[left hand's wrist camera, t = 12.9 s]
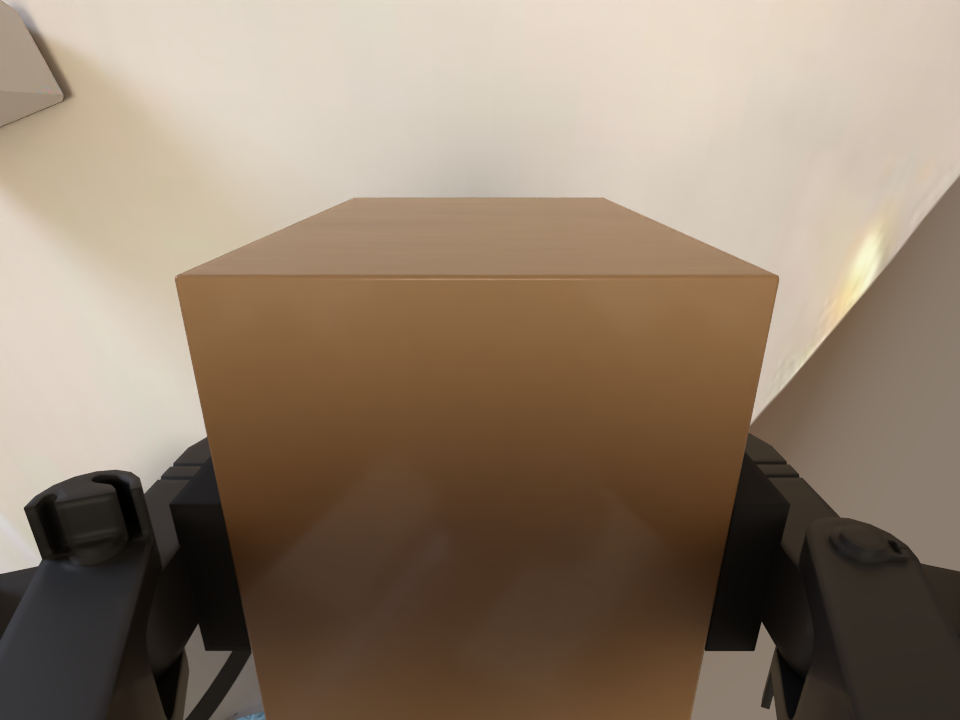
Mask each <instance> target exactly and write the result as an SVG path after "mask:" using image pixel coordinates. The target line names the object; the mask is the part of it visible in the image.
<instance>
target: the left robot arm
mask: <svg viewBox="0 0 960 720" xmlns="http://www.w3.org/2000/svg"><path fill="white" fill-rule="evenodd" d="M24 510H25V513H26V516H27V519H28V521H29V524H30V527H31V530H32V532H33V535H34V538H35V541H36V543H37V546H38V549H39V552H40V554H41V557H42V561H41V563H40V565H39V566H37V567H33V568H28V569H23V570H18V571H13V572H9V573H4V574H0V720H266V719H265V714H264V709H263V705H262V700H261V695H260V690H259V685H258V680H257V675H256V671H255V666H254V661H253V656H252V651H251V646H250V641H249V637H248V632H247V627H246V622H245V617H244V612H243V607H242V603H241V598H240V593H239V588H238V583H237V578H236V573H235V569H234V564H233V559H232V554H231V549H230V544H229V539H228V535H227V530H226V525H225V520H224V515H223V510H222V505H221V501H220V496H219V491H218V486H217V481H216V476H215V471H214V467H213V462H212V457H211V452H210V447H209V442H208V437H206V438H205V439H203V440H201V441H199V442H198V443H196V444H194V445H193V446H191V447H189V448H188V449H187V450H186V451H185V452H184V453H183V454H182V455H181V456H180V457H179V458H178V459H177V460H176V461H175V462H174V463H173V467H170V468H169V469H168V470H167V471H166V472H165V473H164V474H163V475H162V476H161V480H157V481H156V482H155V483H154V484H153V485H152V487H151V488H150V489H149V490H148V491H147V492H146V493H145V494H144V493H143V489H142V485H141V481H140V478H139V477H137V476H136V475H134V474H133V473H132V472H127V471H120V470H108V471H96V472H92V473H88V474H84V475H80V476H76V477H73V478H70V479H68V480H65V481H63V482H60V483H58V484H55V485H53V486H51V487H50V488H48V489H46V490H45V491H43V492H42V493H40V494H38V495H37V496H35V497H34V498H33V499H32V500H31V501H30V502H29V503H28V504H27V505H26V506H25V507H24ZM761 622H762V623H763V624H764V626H765V628H766V630H767V631H768V633H769V635H770V636H771V638H772V640H773V642H774V643H775V645H776V647H775V651H774V655H773V658H772V662H771V666H770V670H769V674H768V677H767V681H766V685H765V689H764V692H763V697H762V704H761V707H764V708H767V709H769V708H770V704H771V701H772V697H773V696H774V699H775V707H776V715H777V720H960V572H959V571H954V570H949V569H944V568H940V567H935V566H930V565H925V564H921V563H920V562H919V560H918V558H917V557H916V556H915V554H914V553H913V552H912V551H911V550H910V548H909V547H908V546H907V545H906V544H904V543H903V542H901V541H900V540H899V539H897V538H896V537H894V536H893V535H892V534H890V533H888V532H886V531H884V530H881V529H879V528H877V527H875V526H873V525H871V524H867V523H864V522H860V521H857V520H853V519H850V518H840V517H839V516H838V515H837V513H836V512H835V511H834V510H833V509H832V508H831V507H830V506H829V505H828V504H827V503H826V502H825V501H824V500H823V499H822V498H821V497H820V496H819V495H818V494H817V493H816V492H815V491H814V490H813V488H812V487H811V486H810V485H809V484H808V483H807V482H806V481H805V480H804V479H803V478H799V474H798V473H797V472H796V471H795V470H794V469H793V468H792V467H791V466H790V465H787V462H786V460H785V459H784V458H783V457H782V456H781V455H780V454H779V453H778V452H777V451H776V450H775V449H774V448H773V447H772V446H771V445H769V444H767V443H766V442H764V441H762V440H760V439H759V438H757V437H755V436H753V435H752V434H750V433H748V437H747V442H746V447H745V452H744V456H743V461H742V466H741V471H740V476H739V481H738V486H737V491H736V496H735V501H734V506H733V511H732V516H731V521H730V526H729V531H728V536H727V541H726V546H725V551H724V556H723V560H722V565H721V570H720V575H719V580H718V585H717V590H716V595H715V600H714V605H713V610H712V615H711V620H710V625H709V630H708V635H707V640H706V645H705V651H754V650H755V646H756V642H757V638H758V634H759V630H760V626H761Z"/></svg>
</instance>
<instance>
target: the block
mask: <svg viewBox="0 0 960 720" xmlns="http://www.w3.org/2000/svg"><path fill="white" fill-rule="evenodd" d="M175 282H176V287H177V292H178V297H179V301H180V306H181V311H182V316H183V321H184V326H185V331H186V335H187V340H188V345H189V350H190V355H191V360H192V365H193V369H194V374H195V379H196V384H197V389H198V394H199V399H200V403H201V408H202V413H203V418H204V423H205V428H206V433H207V437H208V442H209V447H210V452H211V457H212V462H213V467H214V471H215V476H216V481H217V486H218V491H219V496H220V501H221V505H222V510H223V515H224V520H225V525H226V530H227V535H228V539H229V544H230V549H231V554H232V559H233V564H234V569H235V573H236V578H237V583H238V588H239V593H240V598H241V603H242V607H243V612H244V617H245V622H246V627H247V632H248V637H249V641H250V646H251V651H252V656H253V661H254V666H255V671H256V675H257V680H258V685H259V690H260V695H261V700H262V705H263V709H264V714H265V719H266V720H690V719H691V714H692V709H693V704H694V699H695V694H696V689H697V684H698V679H699V674H700V669H701V664H702V660H703V654H704V650H705V645H706V640H707V635H708V630H709V625H710V620H711V615H712V610H713V605H714V600H715V595H716V590H717V585H718V580H719V575H720V570H721V565H722V560H723V556H724V551H725V546H726V541H727V536H728V531H729V526H730V521H731V516H732V511H733V506H734V501H735V496H736V491H737V486H738V481H739V476H740V471H741V466H742V461H743V456H744V452H745V447H746V442H747V437H748V432H749V427H750V422H751V417H752V412H753V407H754V402H755V397H756V392H757V387H758V382H759V377H760V372H761V367H762V362H763V357H764V352H765V348H766V343H767V338H768V333H769V328H770V323H771V318H772V313H773V308H774V303H775V298H776V293H777V288H778V283H779V276H778V275H775V274H773V273H771V272H769V271H766V270H764V269H762V268H760V267H757V266H755V265H753V264H751V263H748V262H746V261H744V260H742V259H739V258H737V257H735V256H733V255H730V254H728V253H726V252H724V251H721V250H719V249H717V248H715V247H713V246H710V245H708V244H706V243H704V242H701V241H699V240H697V239H695V238H692V237H690V236H688V235H686V234H683V233H681V232H679V231H677V230H674V229H672V228H670V227H668V226H665V225H663V224H661V223H659V222H657V221H654V220H652V219H650V218H648V217H645V216H643V215H641V214H639V213H636V212H634V211H632V210H630V209H627V208H625V207H623V206H621V205H618V204H616V203H614V202H612V201H609V200H607V199H605V198H353V199H350V200H348V201H346V202H343V203H341V204H339V205H337V206H334V207H332V208H330V209H327V210H325V211H323V212H321V213H318V214H316V215H314V216H311V217H309V218H307V219H305V220H302V221H300V222H298V223H295V224H293V225H291V226H289V227H286V228H284V229H282V230H279V231H277V232H275V233H273V234H270V235H268V236H266V237H264V238H261V239H259V240H257V241H254V242H252V243H250V244H248V245H245V246H243V247H241V248H238V249H236V250H234V251H232V252H229V253H227V254H225V255H222V256H220V257H218V258H216V259H213V260H211V261H209V262H206V263H204V264H202V265H200V266H197V267H195V268H193V269H190V270H188V271H186V272H184V273H181V274H179V275H177V276H176V277H175Z"/></svg>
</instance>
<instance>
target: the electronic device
mask: <svg viewBox="0 0 960 720" xmlns="http://www.w3.org/2000/svg"><path fill="white" fill-rule="evenodd" d="M63 96H64V94H63V93H62V91H61V89H60V87H59V85H58V83H57V82H56V80H55V78H54V76H53V74H52V73H51V71H50V69H49V67H48V65H47V64H46V62H45V60H44V58H43V56H42V55H41V53H40V51H39V49H38V47H37V46H36V44H35V42H34V40H33V38H32V37H31V35H30V33H29V31H28V29H27V28H26V26H25V24H24V22H23V20H22V19H21V17H20V15H19V13H18V12H17V11H16V10H14V9H13V8H12V7H10V6H9V5H7V4H6V3H5V2H3V1H2V0H0V127H1V126H3V125H6V124H8V123H11V122H13V121H16V120H18V119H20V118H23V117H25V116H28V115H30V114H33V113H35V112H37V111H40V110H42V109H45V108H47V107H50V106H52V105H54V104H57V103H59V102H62V101H63Z"/></svg>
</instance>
